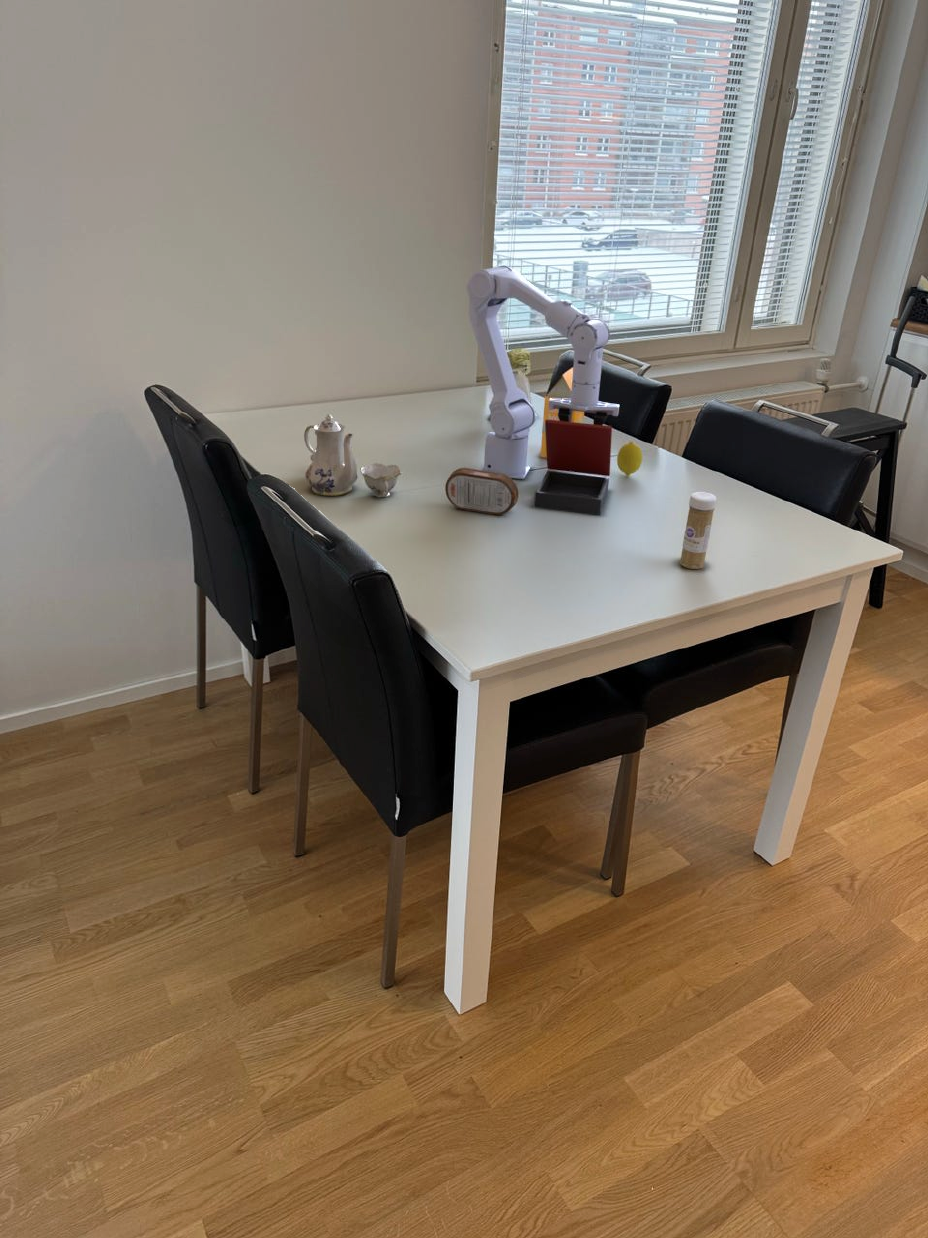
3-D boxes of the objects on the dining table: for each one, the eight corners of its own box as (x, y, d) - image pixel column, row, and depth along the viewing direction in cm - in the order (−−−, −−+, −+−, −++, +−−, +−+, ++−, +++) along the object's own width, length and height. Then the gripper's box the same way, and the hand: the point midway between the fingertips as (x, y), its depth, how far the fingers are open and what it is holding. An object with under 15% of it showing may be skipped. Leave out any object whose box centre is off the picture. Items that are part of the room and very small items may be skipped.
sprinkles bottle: (674, 564, 167) (685, 495, 160) (686, 557, 170) (698, 489, 163) (697, 572, 164) (709, 502, 158) (709, 564, 167) (721, 495, 161)
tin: (517, 513, 186) (520, 474, 182) (513, 519, 183) (515, 479, 179) (448, 502, 190) (449, 464, 186) (443, 508, 187) (443, 468, 183)
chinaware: (415, 501, 194) (421, 423, 188) (355, 513, 183) (360, 431, 176) (330, 468, 211) (333, 396, 204) (270, 478, 199) (272, 401, 192)
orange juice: (539, 457, 218) (546, 372, 209) (550, 446, 225) (557, 364, 216) (571, 461, 216) (579, 376, 206) (581, 451, 223) (589, 368, 213)
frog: (546, 418, 247) (552, 349, 238) (518, 427, 238) (523, 356, 230) (511, 409, 254) (516, 341, 245) (482, 418, 245) (486, 348, 236)
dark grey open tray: (599, 515, 187) (601, 500, 185) (534, 507, 190) (535, 492, 188) (607, 491, 199) (609, 476, 198) (546, 483, 202) (547, 469, 200)
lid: (611, 429, 184) (614, 414, 186) (544, 422, 187) (548, 407, 188) (609, 476, 197) (611, 462, 199) (547, 469, 200) (550, 455, 202)
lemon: (639, 480, 206) (643, 446, 202) (614, 478, 207) (618, 444, 203) (640, 472, 211) (644, 439, 207) (615, 470, 211) (619, 436, 208)
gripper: (548, 382, 186) (543, 447, 192) (619, 389, 183) (612, 454, 190) (553, 374, 192) (548, 437, 198) (622, 381, 189) (615, 444, 196)
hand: (580, 445), depth 194 cm, fingers closed on lid, 5 cm apart
